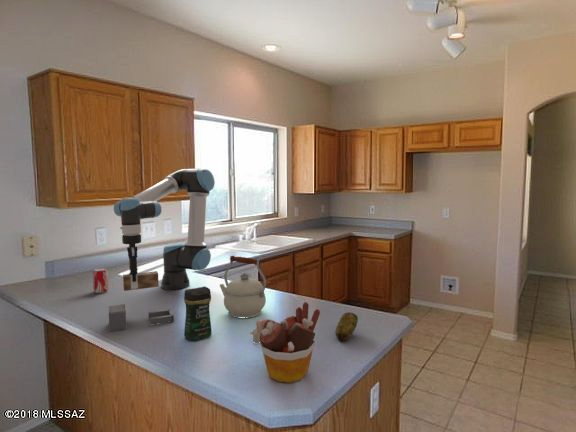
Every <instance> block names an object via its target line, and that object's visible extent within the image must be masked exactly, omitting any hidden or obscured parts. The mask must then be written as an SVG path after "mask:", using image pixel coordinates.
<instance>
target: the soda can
mask: <svg viewBox="0 0 576 432" xmlns="http://www.w3.org/2000/svg"><path fill="white" fill-rule="evenodd" d="M92 285H93V287H92V288H93V292H94V293H96V294H104V293H107V292H108V290H109V272H108V271H107V268H105V267H99V268H95V269H94V270H93V272H92Z"/></svg>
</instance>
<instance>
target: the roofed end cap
mask: <svg viewBox="0 0 576 432" xmlns="http://www.w3.org/2000/svg"><path fill="white" fill-rule="evenodd" d="M126 313H127V311H126V304H125V303H123V304H113V305H108V325H109V327H108V328H109V329H108V330H109V332H115V331H120V330H121V329H122V330H126V329H127V315H126ZM122 330H121V331H122Z"/></svg>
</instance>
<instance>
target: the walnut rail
mask: <svg viewBox="0 0 576 432" xmlns="http://www.w3.org/2000/svg"><path fill="white" fill-rule="evenodd" d="M137 279H138V288H137V289H131V277H130V275H129V273H128V274H122V282H123V284H122V285H123V291H124V292H125V291H133V290H136V291H137V290H142V289H150V288H158V287H160V286H159V285H160V284H159V272H158V271H157V270H156V271H154V270H153V271H146V272H145V271H144V272H137Z"/></svg>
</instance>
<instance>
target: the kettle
mask: <svg viewBox="0 0 576 432" xmlns="http://www.w3.org/2000/svg"><path fill="white" fill-rule="evenodd" d="M229 257H230V258H229V263H230V264H229V266H228V267H227V269H226V270H225V271H224V274H223V277H224V282H225V284H224V283H220V284H219V288H220V290H221V292H222V295H223V296H224V298H223V305H224V307H225V309H226V311H228V315H229V314H230V315H232V316H235V317H245V318H244V319H247V318H246V317H252V318H255V317H254V316H256V317H258V316H259V315H261V314H262V310H263V309H264V307H265V306H266V302H267V301H266V299H267V298H266V295H265V290H266V287H267V279H266V277H265V274H264V273H263V271H262V270H261V268H260V259H259V258H251V257H245V256H235V255H230V256H229ZM234 262H236V263H240V264H247V265H255V266H256V269H257V272H258V273H259V274H260V275H261V278H262V280H263V284H262V282H260V281H259V280H257V279H255V278H251V277H250V275H249V274H248V273H246V272H244V273H242V274H241V275H240V276H239V278H235V279H233V280H231V281H230V282H228V276H227V275H228V272H229V270H230V269H231V267H233V263H234ZM225 285H226V286H225ZM230 315H229V316H230ZM257 315H258V316H257ZM232 316H231V317H232ZM235 317H234V318H235Z"/></svg>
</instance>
